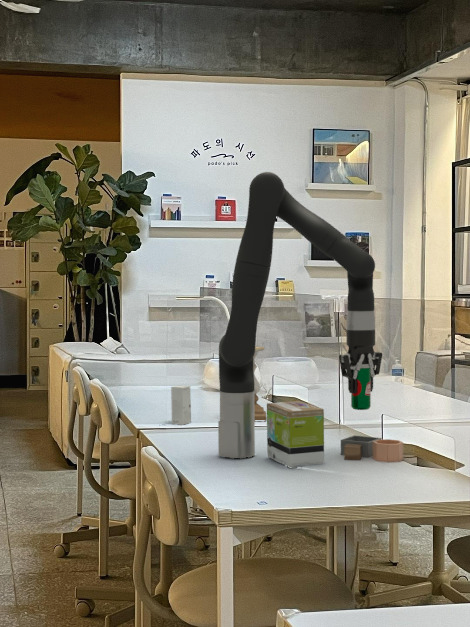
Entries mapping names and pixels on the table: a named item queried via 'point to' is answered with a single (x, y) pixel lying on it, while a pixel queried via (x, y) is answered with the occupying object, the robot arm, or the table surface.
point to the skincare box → (181, 404)
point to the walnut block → (352, 452)
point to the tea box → (295, 433)
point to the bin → (360, 440)
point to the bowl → (388, 450)
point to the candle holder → (259, 410)
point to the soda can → (362, 389)
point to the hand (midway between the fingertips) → (360, 392)
